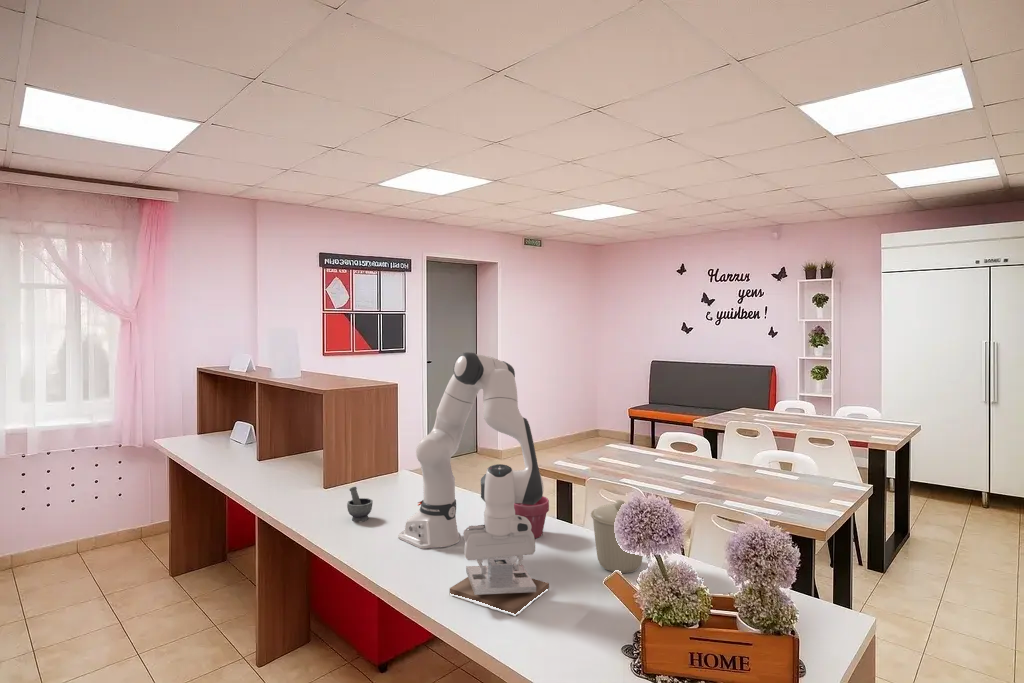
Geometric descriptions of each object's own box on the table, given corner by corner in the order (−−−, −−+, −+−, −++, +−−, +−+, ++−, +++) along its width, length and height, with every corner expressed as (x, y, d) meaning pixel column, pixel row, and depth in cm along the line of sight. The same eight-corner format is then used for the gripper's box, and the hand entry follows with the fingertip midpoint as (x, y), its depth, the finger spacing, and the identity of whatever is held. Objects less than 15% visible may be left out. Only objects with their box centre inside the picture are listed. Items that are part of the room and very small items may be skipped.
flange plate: (474, 594, 152) (475, 573, 152) (466, 571, 169) (467, 552, 169) (536, 592, 156) (536, 571, 156) (521, 569, 172) (522, 551, 173)
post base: (449, 595, 161) (449, 565, 161) (486, 571, 176) (486, 544, 176) (515, 616, 149) (515, 584, 149) (548, 589, 164) (548, 560, 164)
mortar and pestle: (377, 519, 224) (377, 488, 223) (356, 525, 217) (356, 494, 216) (361, 512, 231) (361, 483, 231) (340, 518, 224) (340, 488, 224)
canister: (659, 565, 181) (659, 499, 180) (630, 585, 167) (630, 513, 166) (610, 550, 193) (610, 488, 192) (579, 567, 179) (579, 501, 178)
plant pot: (510, 527, 214) (510, 493, 214) (547, 527, 214) (547, 493, 214) (510, 542, 200) (510, 505, 200) (550, 542, 200) (550, 505, 200)
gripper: (464, 530, 157) (465, 579, 157) (536, 524, 161) (536, 572, 161) (462, 522, 163) (462, 570, 163) (531, 517, 167) (531, 563, 167)
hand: (499, 571), depth 162 cm, fingers open, 8 cm apart
